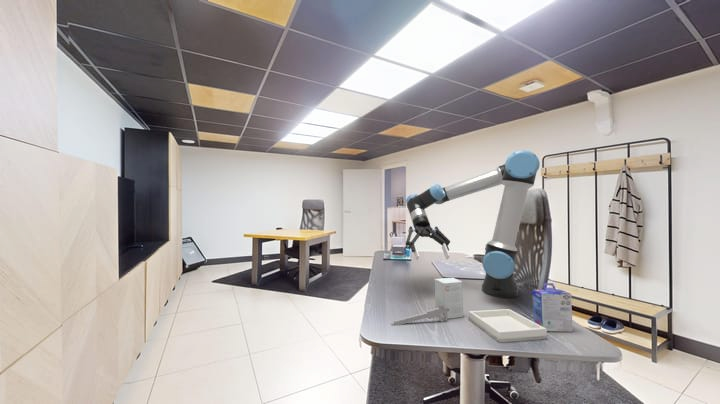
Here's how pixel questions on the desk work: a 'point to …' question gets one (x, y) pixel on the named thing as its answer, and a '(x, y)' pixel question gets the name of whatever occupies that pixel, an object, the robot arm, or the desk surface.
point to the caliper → (424, 316)
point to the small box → (449, 296)
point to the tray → (507, 325)
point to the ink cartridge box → (552, 308)
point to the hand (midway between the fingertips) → (433, 257)
